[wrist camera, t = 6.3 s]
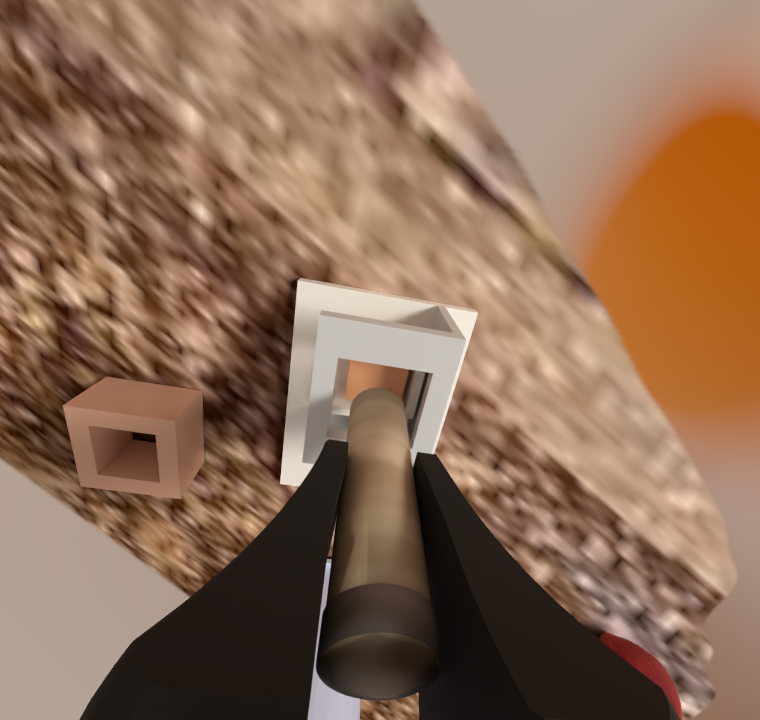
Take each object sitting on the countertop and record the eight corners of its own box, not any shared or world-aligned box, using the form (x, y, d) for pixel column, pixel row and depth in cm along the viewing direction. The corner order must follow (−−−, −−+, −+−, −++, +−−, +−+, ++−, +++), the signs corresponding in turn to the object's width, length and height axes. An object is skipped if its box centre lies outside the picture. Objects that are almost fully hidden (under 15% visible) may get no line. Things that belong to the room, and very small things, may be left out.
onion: (557, 647, 31) (612, 784, 24) (589, 609, 29) (661, 747, 22) (615, 656, 32) (686, 791, 25) (651, 619, 30) (740, 756, 22)
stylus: (399, 438, 15) (426, 704, 7) (344, 430, 14) (309, 695, 7) (411, 391, 14) (457, 638, 6) (353, 382, 14) (323, 624, 6)
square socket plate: (417, 494, 23) (428, 568, 19) (282, 476, 23) (258, 548, 18) (474, 309, 18) (509, 347, 13) (300, 277, 17) (272, 306, 13)
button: (397, 387, 19) (399, 407, 17) (347, 379, 19) (344, 398, 17) (408, 340, 18) (412, 356, 16) (355, 331, 18) (352, 346, 16)
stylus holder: (204, 461, 22) (180, 498, 19) (117, 450, 22) (80, 486, 19) (202, 390, 20) (174, 421, 17) (106, 376, 20) (62, 405, 17)
